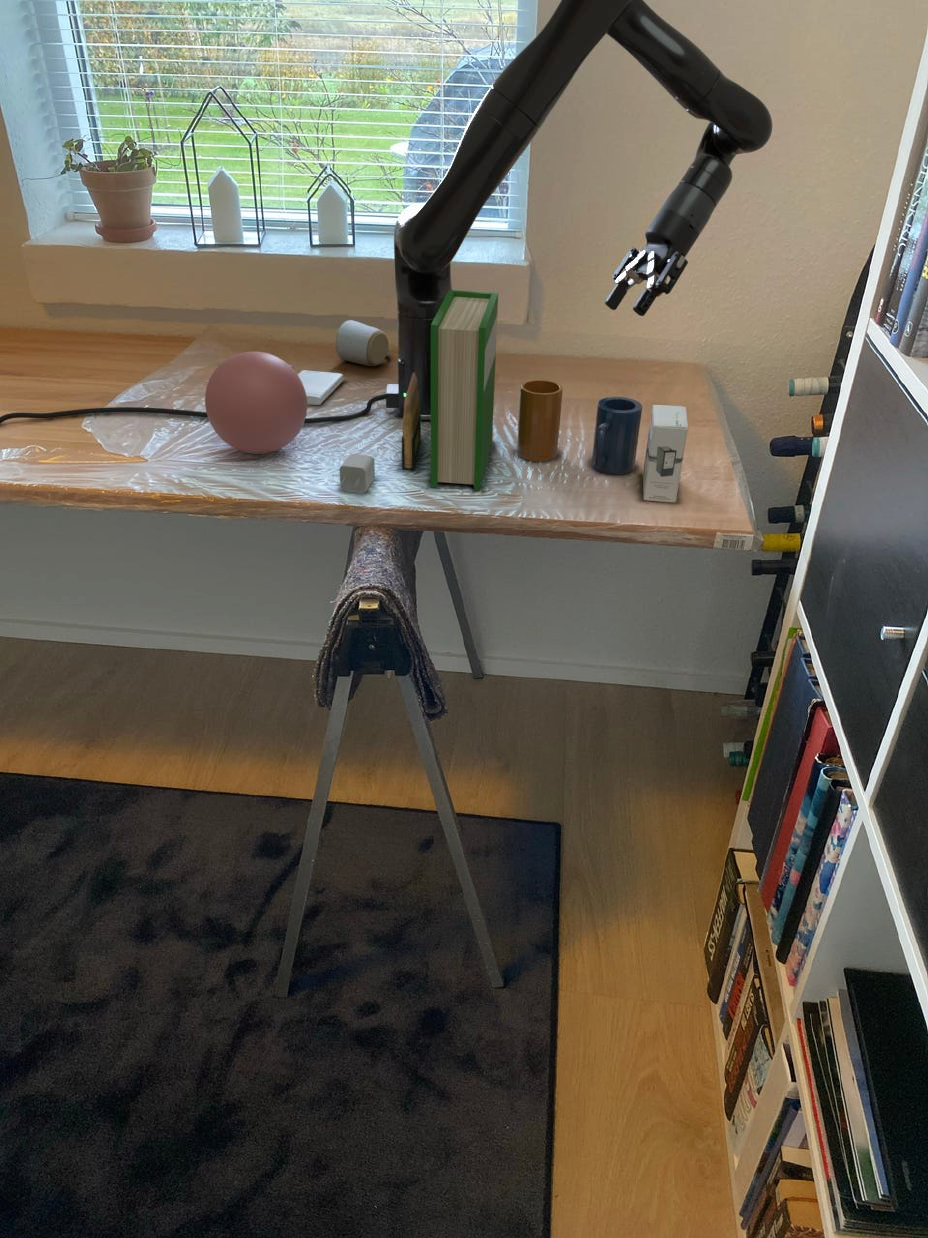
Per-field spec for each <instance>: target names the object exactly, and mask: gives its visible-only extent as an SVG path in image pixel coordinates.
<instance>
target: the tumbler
mask: <svg viewBox="0 0 928 1238" xmlns="http://www.w3.org/2000/svg"><path fill="white" fill-rule="evenodd" d="M519 389H520V390H519V409H518V426H517V442H516V443H517V445H516V454H517V456H518V457H520V458H521V459H523V460H526V461H530V462H548V461H552V460H554V459H555V458H556V457H558V451H559V439H560V438H559V437H560V429H561V428H560V427H561V415H562V403H563V390H564V389H563V385H561V384H560V383H559V382H556V381H553V380H549V379H530V380H525V381H524V382H522V383H521V384H520V388H519Z"/></svg>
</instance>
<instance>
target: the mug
mask: <svg viewBox="0 0 928 1238" xmlns="http://www.w3.org/2000/svg"><path fill="white" fill-rule="evenodd" d="M596 408H597V409H596V417H595V426H594V437H593V445H592V446H593V447H592V456H591V466H592V468H593V469H594V470H596V471H597V472H600V473H603V474H606V475H613V476H617V475H626V474H629V473H631V472H633V471H634V469H635V464H636V460H637V459H636V458H637V450H638V443H639V435H640V427H641V421H642V412H643V404H642V403H641V402H640V401H638V400H636V399H634V398H630V397H625V396H609V397H604V398H602V399H600V400H598V402H597V407H596Z"/></svg>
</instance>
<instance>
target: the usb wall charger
mask: <svg viewBox="0 0 928 1238" xmlns="http://www.w3.org/2000/svg"><path fill="white" fill-rule="evenodd" d="M375 466H376V465H375V458H374V457H373V456H372V455H368V454H357V453H350V454H349V455H348V456H347V457H346V459H345V460H344V462H343V463H342V464H341V466H340V467H339V470H338V471H339V486H340V489H341V490H342V491H344V492H349V493H359V494H364V493H365V492H367V490H368V489H369V488H370V486H371V484H372V483H373V481H374V480H375V479H376V467H375Z"/></svg>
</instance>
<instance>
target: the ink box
mask: <svg viewBox="0 0 928 1238" xmlns="http://www.w3.org/2000/svg"><path fill="white" fill-rule="evenodd" d="M687 413H688V412H687V407H686V406H682V405H665V404H652V410H651V416H650V422H649V428H648V429H649V430H648V436H647V443H646V450H645V456H644V461H643V462H644V463H643V468H642V469H643V470H642V490H643V491H642V492H643V493H642V494H643V500H644V501H651V502H663V503H673V504H675V503H676V502H677V498H678V490H679V486H680V479H681V473H682V466H683V460H684V454H685V448H686V443H687V436H688V431H689V424H688V423H689V421H688V414H687Z"/></svg>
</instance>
